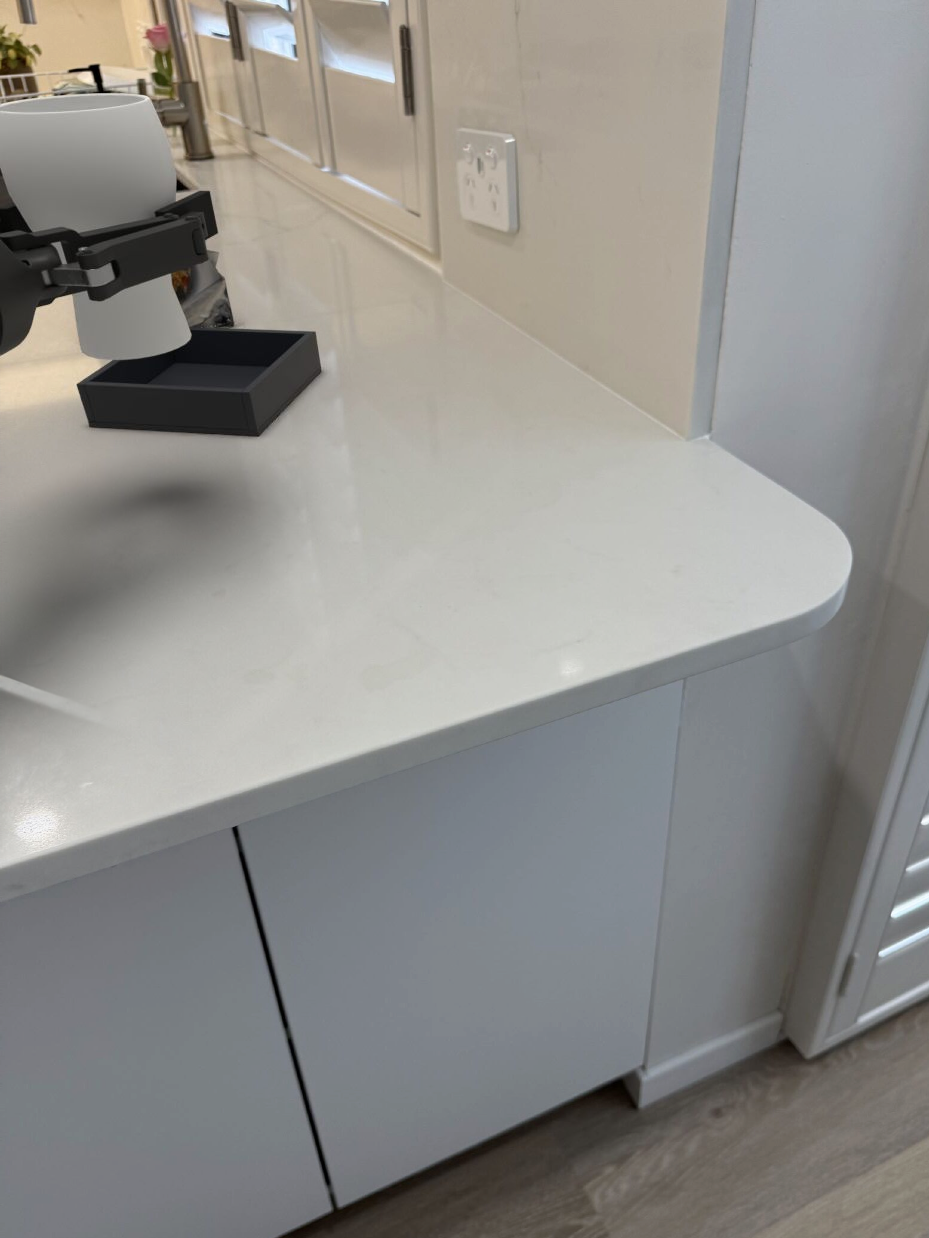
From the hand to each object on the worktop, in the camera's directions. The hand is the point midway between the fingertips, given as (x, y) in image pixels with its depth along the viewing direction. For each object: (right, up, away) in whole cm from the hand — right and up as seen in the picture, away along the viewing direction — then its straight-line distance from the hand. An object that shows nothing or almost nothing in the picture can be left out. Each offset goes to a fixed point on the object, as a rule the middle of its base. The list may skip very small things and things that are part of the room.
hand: (135, 210), depth 67 cm
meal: (-13, +7, +41) cm, 44 cm away
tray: (-3, -6, +25) cm, 26 cm away
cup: (-1, -9, +2) cm, 9 cm away
